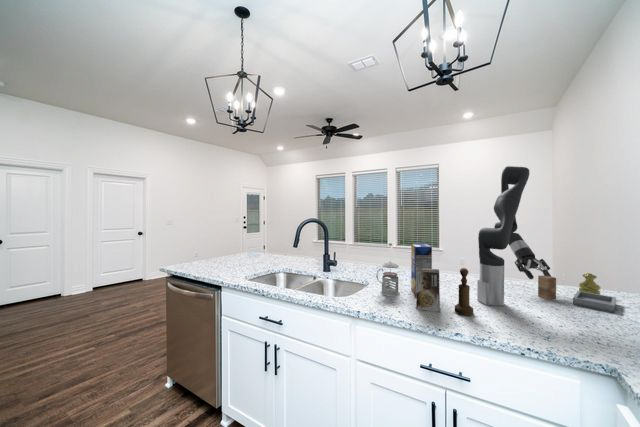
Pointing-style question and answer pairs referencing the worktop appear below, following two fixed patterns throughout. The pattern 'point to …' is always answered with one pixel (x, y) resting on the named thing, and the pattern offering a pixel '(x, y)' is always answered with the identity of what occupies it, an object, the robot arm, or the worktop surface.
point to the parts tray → (595, 301)
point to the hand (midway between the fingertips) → (540, 278)
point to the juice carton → (419, 261)
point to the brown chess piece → (464, 296)
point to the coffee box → (427, 289)
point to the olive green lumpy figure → (589, 284)
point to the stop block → (547, 287)
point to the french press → (394, 278)
